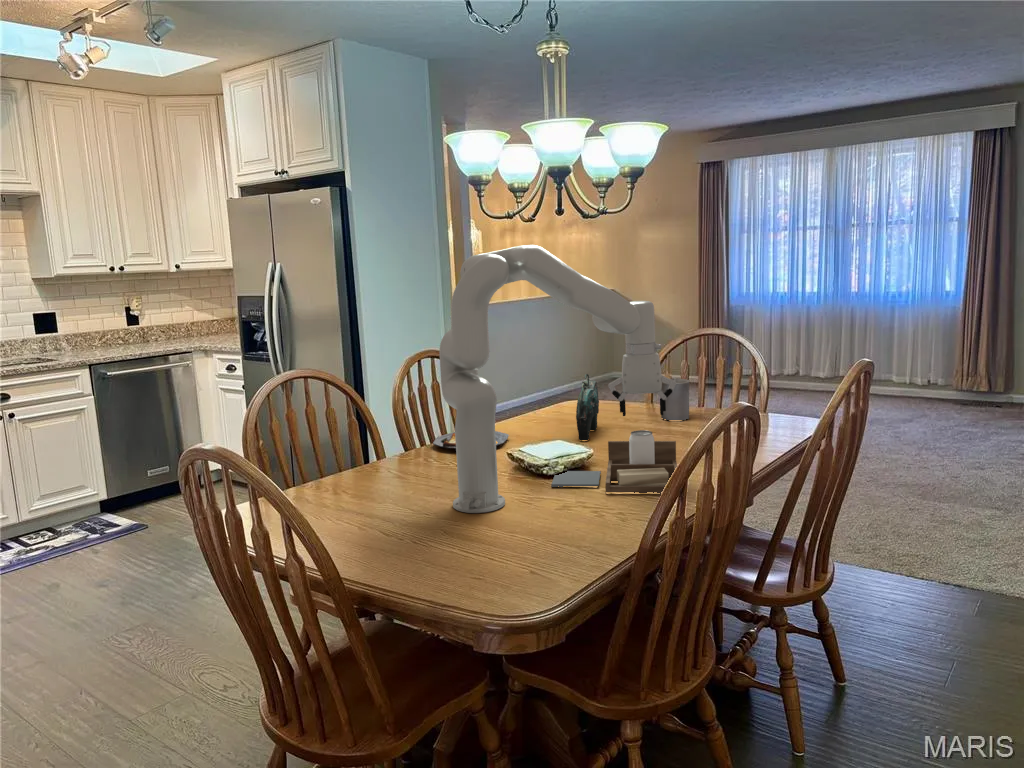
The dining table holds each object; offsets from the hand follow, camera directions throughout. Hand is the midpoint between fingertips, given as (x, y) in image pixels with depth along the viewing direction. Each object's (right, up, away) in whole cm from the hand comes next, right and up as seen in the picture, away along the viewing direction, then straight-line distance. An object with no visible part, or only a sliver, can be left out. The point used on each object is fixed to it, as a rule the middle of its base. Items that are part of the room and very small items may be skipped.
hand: (642, 414), depth 196 cm
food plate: (-47, -12, +47) cm, 67 cm away
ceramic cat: (-9, -9, +52) cm, 54 cm away
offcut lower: (-1, -19, -7) cm, 20 cm away
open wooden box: (0, -17, -1) cm, 17 cm away
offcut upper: (-1, -16, -7) cm, 18 cm away
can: (0, -17, +3) cm, 17 cm away
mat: (-17, -18, +2) cm, 25 cm away
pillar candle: (+24, -5, +70) cm, 74 cm away
